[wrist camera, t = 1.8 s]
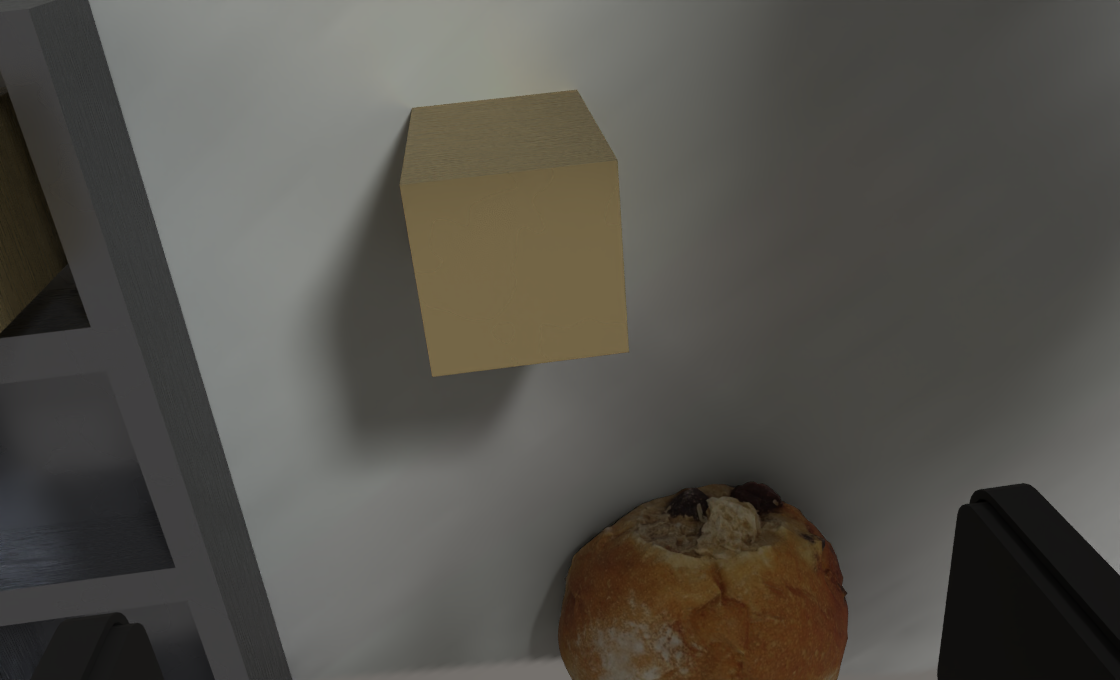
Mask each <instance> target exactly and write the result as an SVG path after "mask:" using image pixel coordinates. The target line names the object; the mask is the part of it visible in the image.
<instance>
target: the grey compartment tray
mask: <svg viewBox="0 0 1120 680" xmlns="http://www.w3.org/2000/svg"><path fill="white" fill-rule="evenodd" d="M0 87H7V90H8V93H9V96H10V99H11V102H12V105H13V107H14V110H15V113H16V116H17V119H18V122H19V124H20V127H21V130H22V133H23V136H24V139H25V141H26V144H27V147H28V150H29V153H30V156H31V158H32V161H33V164H34V167H35V170H36V173H37V176H38V178H39V181H40V184H41V187H42V190H43V193H44V195H45V198H46V201H47V204H48V207H49V210H50V212H51V215H52V218H53V221H54V224H55V227H56V229H57V232H58V235H59V238H60V241H61V244H62V247H63V249H64V252H65V255H66V258H67V261H68V264H67V265H66V266H65V267H64V268H63V269H62V270H61V271H60V272H59V273H58V274H57V275H56V276H55V277H54V278H53V280H52V281H51V282H50V283H49V284H48V285H47V286H46V287H45V288H44V289H43V290H42V291H41V292H40V293H39V294H38V295H37V296H36V297H35V298H34V299H33V300H32V301H31V302H30V303H29V304H28V305H27V306H26V307H25V308H24V309H23V310H22V311H21V312H20V313H19V314H18V315H17V316H16V318H15V319H14V320H13V321H12V322H11V323H10V324H9V325H8V326H7V327H6V328H5V329H4V330H3V331H2V332H1V333H0V680H30V679H31V677H32V675H33V673H34V671H35V669H36V667H37V665H38V663H39V661H40V660H41V658H42V656H43V654H44V652H45V650H46V648H47V646H48V644H49V642H50V640H51V638H52V636H53V634H54V633H55V631H56V629H57V628H58V626H59V625H60V623H61V622H63V621H65V620H66V619H71V618H79V617H86V616H93V615H100V614H107V613H114V612H119V613H122V614H123V615H124V616H125V617H126V618H127V620H128V622H129V624H131V623H140V624H142V625H143V626H144V628H145V630H146V632H147V635H148V638H149V640H150V643H151V645H152V648H153V651H154V653H155V656H156V659H157V661H158V664H159V666H160V669H161V672H162V674H163V677H164V680H292V678H291V674H290V671H289V668H288V664H287V661H286V658H285V654H284V651H283V648H282V644H281V641H280V638H279V634H278V631H277V628H276V624H275V621H274V618H273V614H272V611H271V608H270V604H269V601H268V598H267V594H266V591H265V588H264V584H263V581H262V578H261V574H260V571H259V568H258V564H257V561H256V558H255V554H254V551H253V548H252V544H251V541H250V538H249V534H248V531H247V528H246V524H245V521H244V518H243V514H242V511H241V508H240V504H239V501H238V498H237V494H236V491H235V488H234V484H233V481H232V478H231V474H230V471H229V468H228V464H227V461H226V458H225V454H224V451H223V448H222V444H221V441H220V438H219V434H218V431H217V428H216V424H215V421H214V418H213V414H212V411H211V408H210V404H209V401H208V398H207V394H206V391H205V388H204V384H203V381H202V378H201V374H200V371H199V368H198V364H197V361H196V358H195V354H194V351H193V348H192V344H191V341H190V338H189V334H188V331H187V328H186V324H185V321H184V318H183V314H182V311H181V308H180V304H179V301H178V298H177V294H176V291H175V288H174V284H173V281H172V278H171V274H170V271H169V268H168V264H167V261H166V258H165V254H164V251H163V248H162V244H161V241H160V238H159V234H158V231H157V228H156V224H155V221H154V218H153V214H152V211H151V208H150V205H149V201H148V198H147V195H146V191H145V188H144V185H143V181H142V178H141V175H140V171H139V168H138V165H137V161H136V158H135V155H134V151H133V148H132V145H131V141H130V138H129V135H128V131H127V128H126V125H125V121H124V118H123V115H122V111H121V108H120V105H119V101H118V98H117V95H116V91H115V88H114V85H113V81H112V78H111V75H110V71H109V68H108V65H107V61H106V58H105V55H104V51H103V48H102V45H101V41H100V38H99V35H98V31H97V28H96V25H95V21H94V18H93V15H92V11H91V8H90V5H89V1H88V0H0Z"/></svg>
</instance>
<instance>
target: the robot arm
mask: <svg viewBox="0 0 1120 680" xmlns="http://www.w3.org/2000/svg"><path fill="white" fill-rule="evenodd" d="M937 677H938V680H1120V575H1119V574H1118V573H1117V572H1116V571H1115V570H1114V569H1113V568H1112V567H1111V566H1110V565H1109V564H1108V563H1107V562H1106V561H1105V560H1104V559H1103V558H1102V557H1101V556H1100V555H1099V554H1098V553H1097V552H1096V551H1095V549H1094V548H1093V547H1092V546H1091V545H1090V544H1089V543H1088V542H1087V541H1086V540H1085V539H1084V538H1083V537H1082V536H1081V535H1080V534H1079V533H1078V532H1077V531H1076V530H1075V529H1074V528H1073V527H1072V526H1071V525H1070V524H1069V523H1068V522H1067V521H1066V520H1065V519H1064V518H1063V517H1062V515H1061V514H1060V513H1059V512H1058V511H1057V510H1056V509H1055V508H1054V507H1053V506H1052V505H1051V504H1050V503H1049V502H1048V501H1047V500H1046V499H1045V498H1044V497H1043V496H1042V495H1041V494H1040V493H1039V492H1038V491H1037V490H1036V489H1035V488H1034V487H1032V486H1031V485H1029V484H1025V483H1022V484H1015V485H1008V486H1001V487H994V488H987V489H980V490H977V491H975V492H974V493H973V495H972V496H971V499H970V503H969V504H965V505H962V506H961V507H960V508H959V511H958V514H957V521H956V529H955V537H954V545H953V553H952V560H951V568H950V576H949V584H948V592H947V600H946V607H945V615H944V623H943V631H942V639H941V646H940V654H939V662H938V671H937ZM30 680H164V677H163V674H162V672H161V669H160V666H159V664H158V661H157V659H156V656H155V653H154V651H153V648H152V645H151V643H150V640H149V638H148V635H147V632H146V630H145V628H144V626H143V625H142V624H140V623H131V624H129V622H128V620H127V618H126V617H125V616H124V615H123V614H122V613H119V612H114V613H107V614H100V615H93V616H86V617H79V618H71V619H66V620H65V621H63V622H61V623H60V625H59V626H58V628H57V629H56V631H55V633H54V634H53V636H52V638H51V640H50V642H49V644H48V646H47V648H46V650H45V652H44V654H43V656H42V658H41V660H40V661H39V663H38V665H37V667H36V669H35V671H34V673H33V675H32V677H31V679H30Z"/></svg>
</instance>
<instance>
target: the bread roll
mask: <svg viewBox="0 0 1120 680" xmlns="http://www.w3.org/2000/svg"><path fill="white" fill-rule="evenodd" d="M718 569H719V570H718ZM565 581H566V588H565V595H564V599H563V603H562V610H561V617H560V620H559V629H558V641H559V649H560V653H561V657H562V659H563V662H564V664H565V666H566V669H567V671H568V673H569V675H570V676H571V678H572V680H837V678H838V675H839V670H840V665H841V662H842V658H843V654H844V650H845V647H846V643H847V639H848V635H847V626H848V606H847V602H846V600H845V595H846V594H847V592H846V591H845V589H844V588H843V586H842V582H843V576H842V573H841V570H840V567H839V563H838V560H837V556H836V554H835V552H834V550H833V547H832V545H831V543H830V542H828V541H827V540H826V539H825V538H824V537H823V535H822V534H821V533H820V531H819V530H818V529H817V528H816V527H815V526H814V525H813V524H812V523H811V522H809V521H808V520H807V519H806V518H805V517H804V516H803V515H802V513H801V511H800V510H799V509H797V508H795V507H793V506H791V505H789V504H786V503H785V502H784V501H781V498H780V496H779V495H778V494H777V493H775V492H774V491H773V490H772V489H771V488H770V487H768V486H767V485H764V484H757V483H756V482H748V483H745V484H744V485H738V486H737V487H735V488H734V487H730V486H727V485H726V484H711V485H707V486H702V487H698V488H685V489H683V490H681V491H679V492H678V493H676V494H674V495H670V496H666V497H662V498H658V499H654V500H651V501H649V502H646V503H643V504H641V505H640V506H638V507H637V508H635V509H634V510H632V511H631V512H629V513H628V514H627V515H625V516H624V517H622V518H621V519H620V520H618V521H617V522H616V523H615V524H614V525H612V526H610V527H606V528H604V530H603V531H601V532H600V533H599V534H598V535H597V536H596V537H595V538H594V539H592V540H591V541H590V542H589V543H587V544H586V545H585V546H584V547H583V548H581V549H580V550H579V551H578V552H577V553H576V554H575V555H574V556H573V558H572V564H571V567H570V568H569V572H568V575H567V577H566V578H565Z"/></svg>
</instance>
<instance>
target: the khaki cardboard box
mask: <svg viewBox="0 0 1120 680" xmlns="http://www.w3.org/2000/svg"><path fill="white" fill-rule="evenodd" d="M67 264H68V261H67V258H66V255H65V252H64V249H63V247H62V244H61V241H60V238H59V235H58V232H57V229H56V227H55V224H54V221H53V218H52V215H51V212H50V210H49V207H48V204H47V201H46V198H45V195H44V193H43V190H42V187H41V184H40V181H39V178H38V176H37V173H36V170H35V167H34V164H33V161H32V158H31V156H30V153H29V150H28V147H27V144H26V141H25V139H24V136H23V133H22V130H21V127H20V124H19V122H18V119H17V116H16V113H15V110H14V107H13V105H12V102H11V99H10V96H9V93H8V90H7V87H0V333H1V332H2V331H3V330H4V329H5V328H6V327H7V326H8V325H9V324H10V323H11V322H12V321H13V320H14V319H15V318H16V316H17V315H18V314H19V313H20V312H21V311H22V310H23V309H24V308H25V307H26V306H27V305H28V304H29V303H30V302H31V301H32V300H33V299H34V298H35V297H36V296H37V295H38V294H39V293H40V292H41V291H42V290H43V289H44V288H45V287H46V286H47V285H48V284H49V283H50V282H51V281H52V280H53V278H54V277H55V276H56V275H57V274H58V273H59V272H60V271H61V270H62V269H63V268H64V267H65V266H66V265H67Z"/></svg>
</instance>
